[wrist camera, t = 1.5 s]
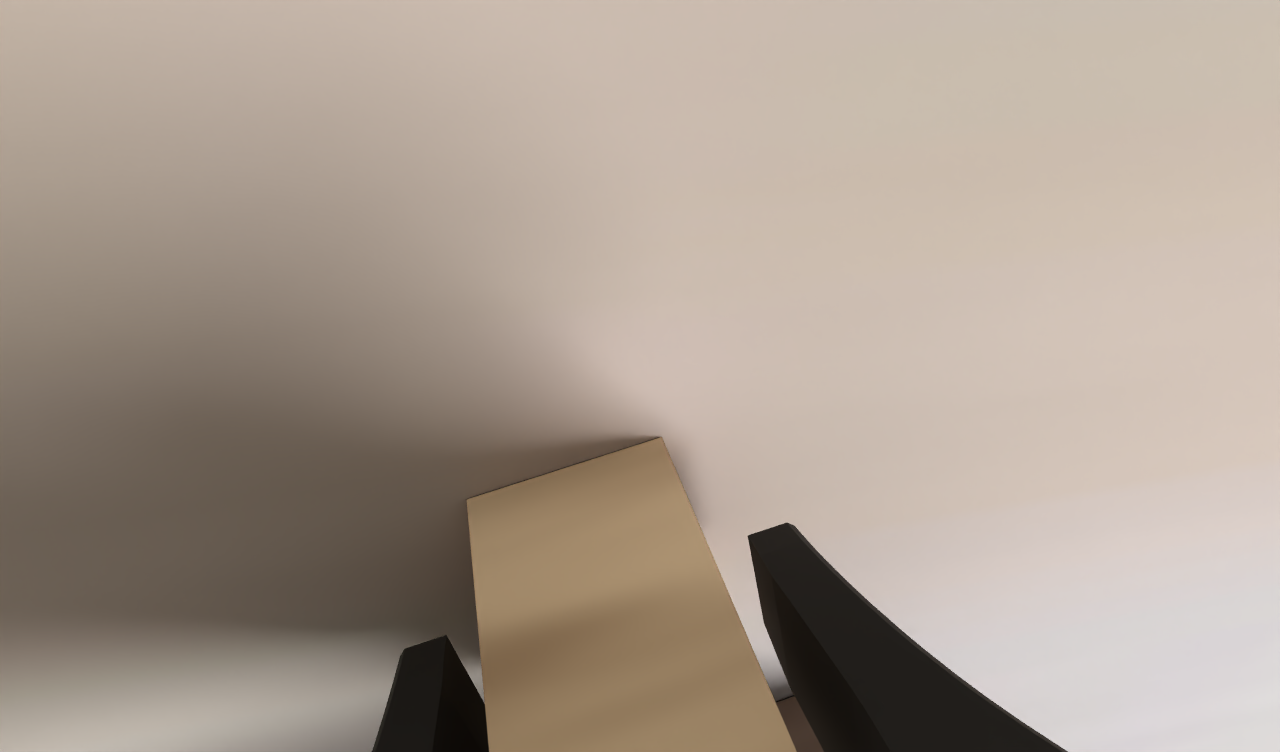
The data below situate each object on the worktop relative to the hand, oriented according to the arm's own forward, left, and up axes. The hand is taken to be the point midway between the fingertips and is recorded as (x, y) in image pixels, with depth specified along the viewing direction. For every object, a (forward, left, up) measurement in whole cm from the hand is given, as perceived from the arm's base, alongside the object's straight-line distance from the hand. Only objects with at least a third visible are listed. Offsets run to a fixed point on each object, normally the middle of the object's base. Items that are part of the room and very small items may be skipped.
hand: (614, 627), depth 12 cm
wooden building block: (-6, 0, -1) cm, 6 cm away
